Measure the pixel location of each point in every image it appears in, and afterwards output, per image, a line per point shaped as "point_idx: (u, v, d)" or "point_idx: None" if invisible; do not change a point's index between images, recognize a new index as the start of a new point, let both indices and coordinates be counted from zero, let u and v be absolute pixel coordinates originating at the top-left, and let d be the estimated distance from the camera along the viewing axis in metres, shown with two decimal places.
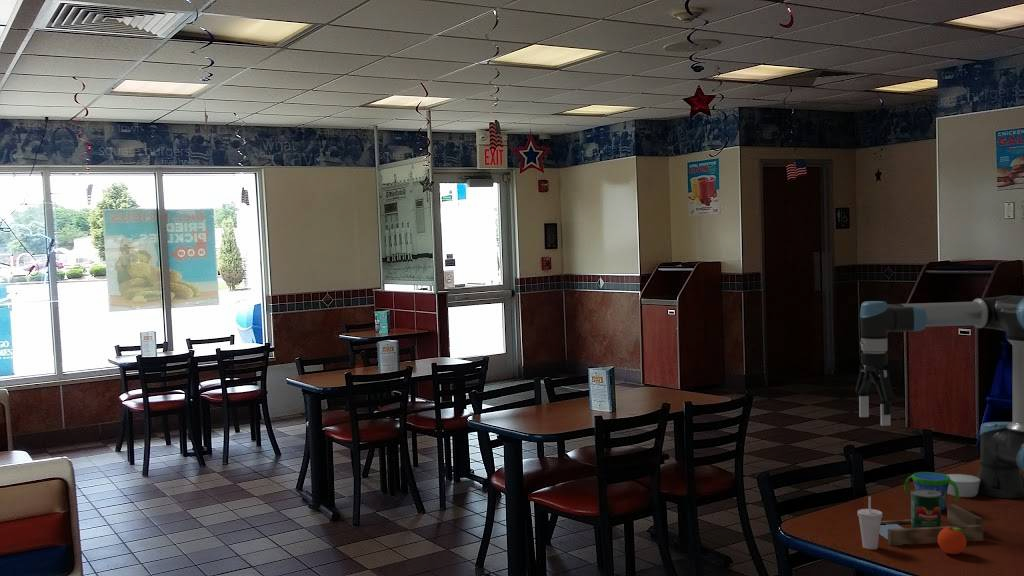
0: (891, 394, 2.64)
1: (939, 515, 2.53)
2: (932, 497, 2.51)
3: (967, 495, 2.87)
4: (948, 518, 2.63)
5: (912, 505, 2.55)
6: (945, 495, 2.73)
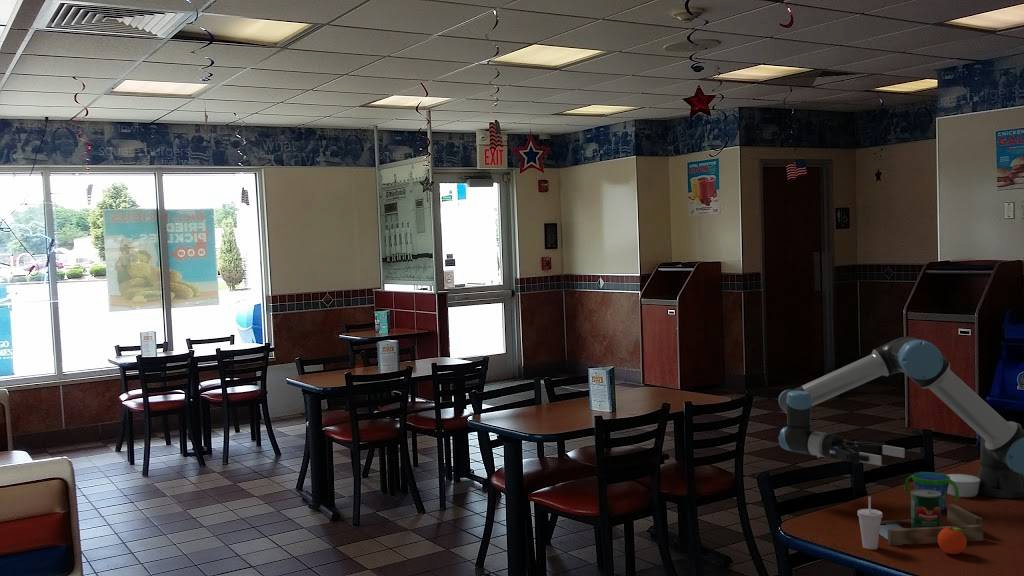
0: (845, 454, 2.64)
1: (939, 515, 2.53)
2: (932, 497, 2.51)
3: (967, 495, 2.87)
4: (948, 518, 2.63)
5: (912, 505, 2.55)
6: (945, 495, 2.73)
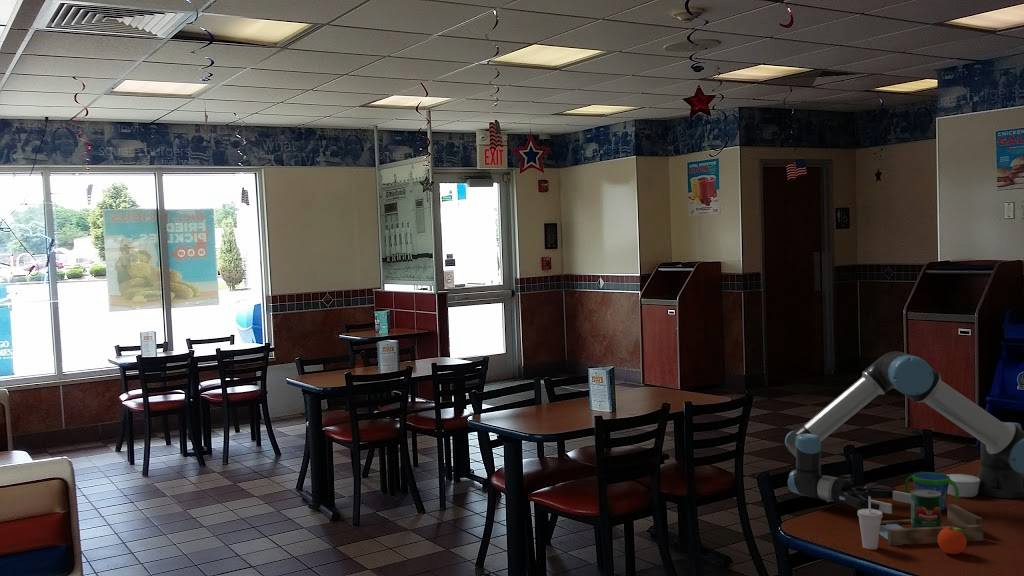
0: (855, 501, 2.62)
1: (939, 515, 2.53)
2: (932, 497, 2.51)
3: (967, 495, 2.87)
4: (948, 518, 2.63)
5: (912, 505, 2.55)
6: (945, 495, 2.73)
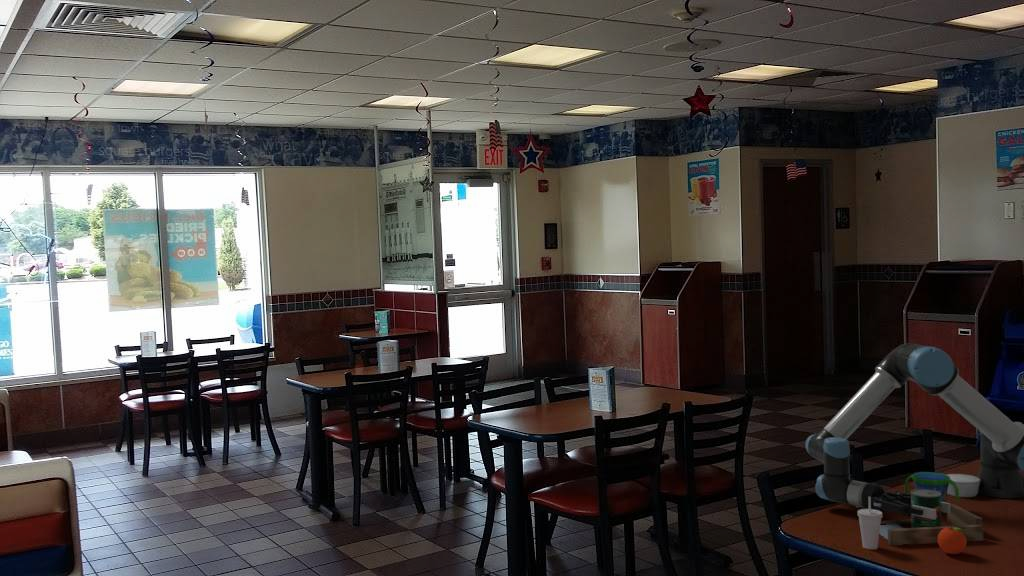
0: (896, 507, 2.55)
1: (939, 515, 2.53)
2: (932, 497, 2.51)
3: (967, 495, 2.87)
4: (948, 518, 2.63)
5: None
6: (945, 495, 2.73)
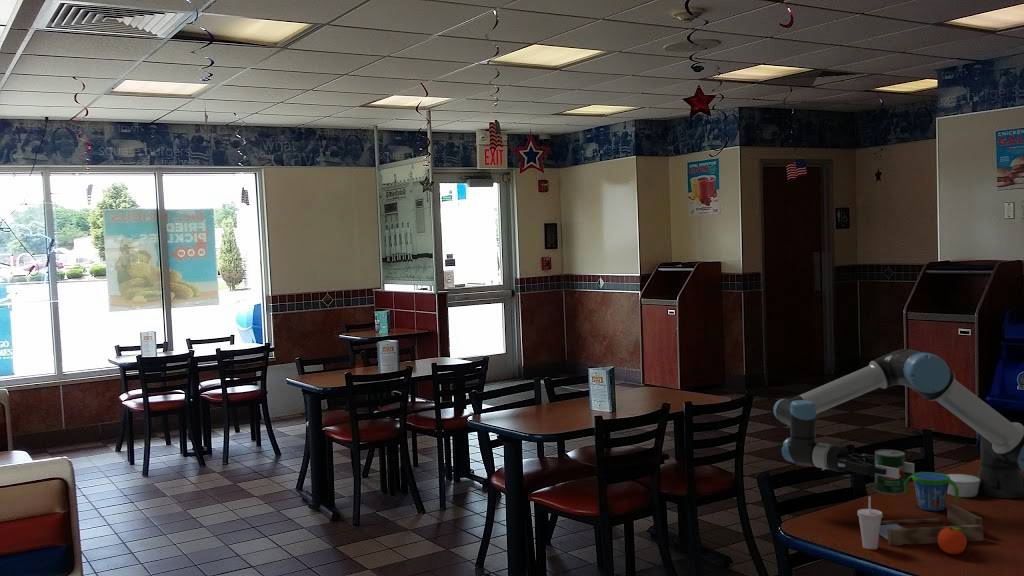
0: (860, 467, 2.53)
1: (902, 475, 2.51)
2: (895, 456, 2.50)
3: (967, 495, 2.87)
4: (948, 518, 2.63)
5: None
6: (945, 495, 2.73)
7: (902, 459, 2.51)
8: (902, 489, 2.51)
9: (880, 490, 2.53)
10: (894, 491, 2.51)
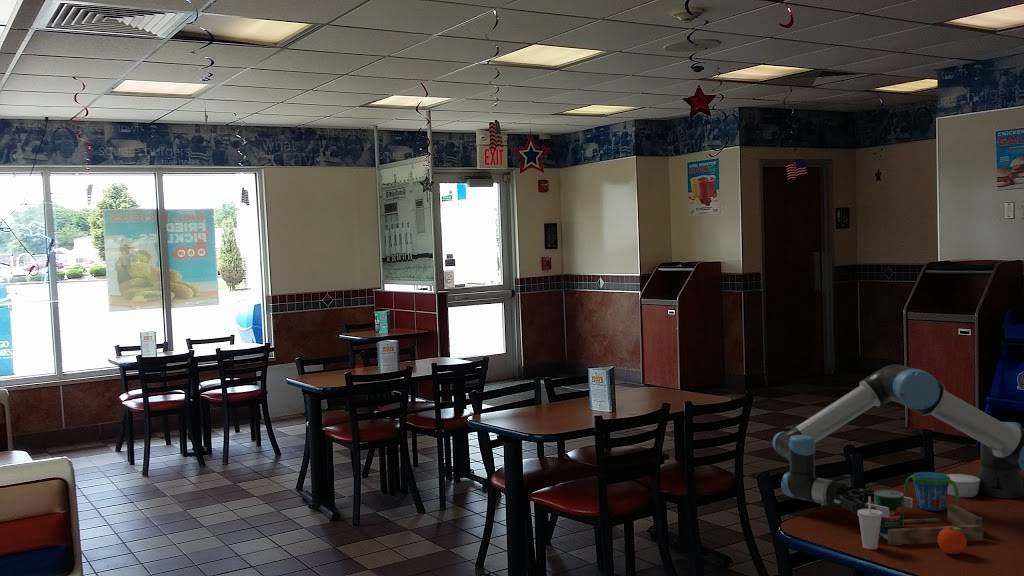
0: (851, 505, 2.54)
1: (902, 516, 2.52)
2: (894, 498, 2.51)
3: (967, 495, 2.87)
4: (948, 518, 2.63)
5: None
6: (945, 495, 2.73)
7: (901, 500, 2.52)
8: None
9: None
10: None
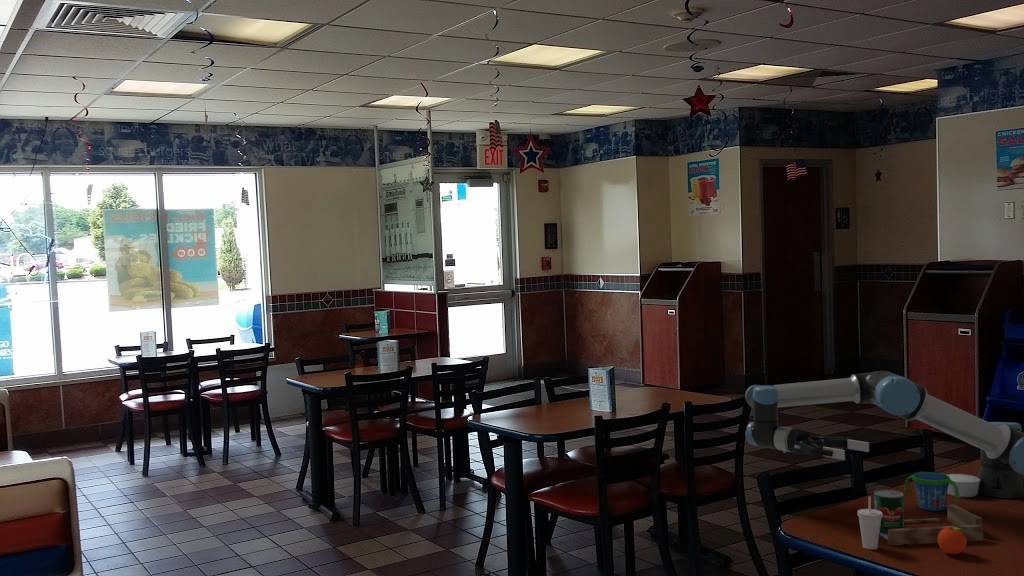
0: (809, 449, 2.63)
1: (902, 516, 2.52)
2: (894, 498, 2.51)
3: (967, 495, 2.87)
4: (948, 518, 2.63)
5: (875, 506, 2.55)
6: (945, 495, 2.73)
7: (901, 500, 2.52)
8: None
9: None
10: None
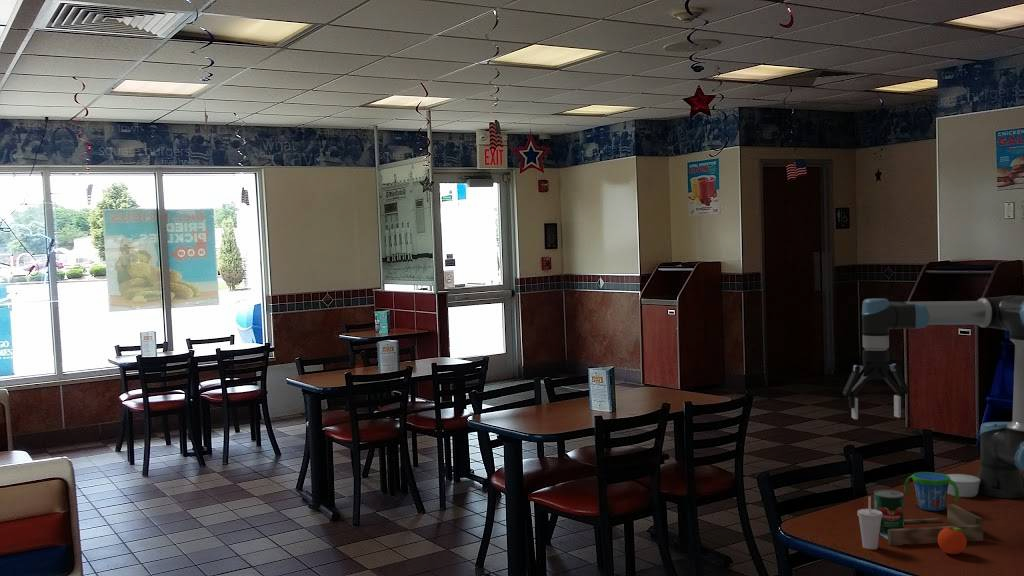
0: (847, 387, 2.73)
1: (902, 516, 2.52)
2: (894, 498, 2.51)
3: (967, 495, 2.87)
4: (948, 518, 2.63)
5: (875, 506, 2.55)
6: (945, 495, 2.73)
7: (901, 500, 2.52)
8: None
9: None
10: None
